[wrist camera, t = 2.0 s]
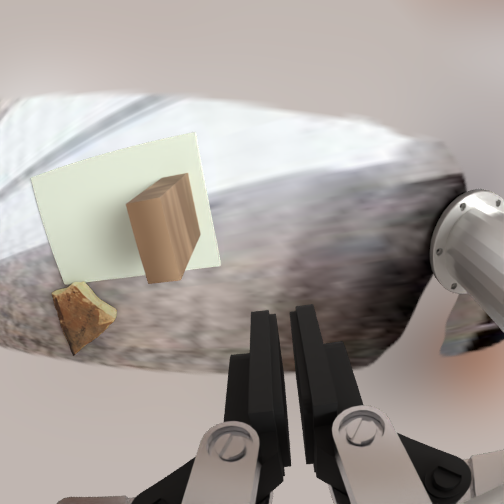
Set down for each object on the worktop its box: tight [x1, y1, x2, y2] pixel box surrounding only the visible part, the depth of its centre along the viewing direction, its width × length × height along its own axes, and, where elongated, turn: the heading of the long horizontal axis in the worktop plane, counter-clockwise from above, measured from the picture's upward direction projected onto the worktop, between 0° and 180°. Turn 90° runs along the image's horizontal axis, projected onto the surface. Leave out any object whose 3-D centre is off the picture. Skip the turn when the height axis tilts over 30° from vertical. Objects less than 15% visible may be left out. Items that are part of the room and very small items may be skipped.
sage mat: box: [31, 132, 221, 285], centre depth 30 cm, size 19×13×1 cm
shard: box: [52, 281, 117, 356], centre depth 34 cm, size 11×8×2 cm
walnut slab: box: [126, 173, 201, 284], centre depth 25 cm, size 2×6×9 cm, turn 8°
